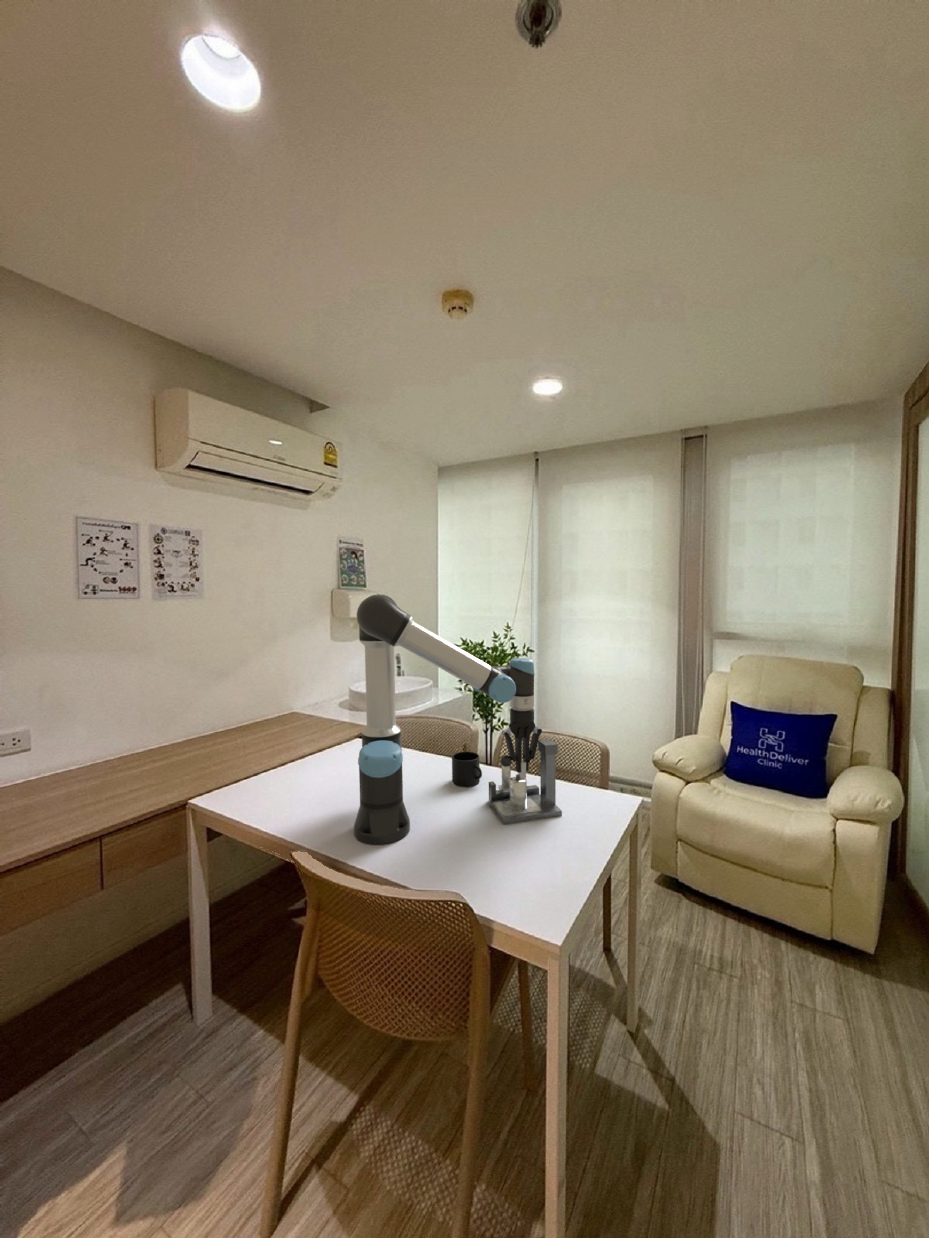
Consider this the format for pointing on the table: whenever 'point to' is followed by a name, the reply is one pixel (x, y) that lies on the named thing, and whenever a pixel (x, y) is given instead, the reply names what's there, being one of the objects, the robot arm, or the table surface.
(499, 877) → the table surface
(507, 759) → the lever
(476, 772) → the mug
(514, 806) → the housing
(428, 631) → the robot arm
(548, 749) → the press
